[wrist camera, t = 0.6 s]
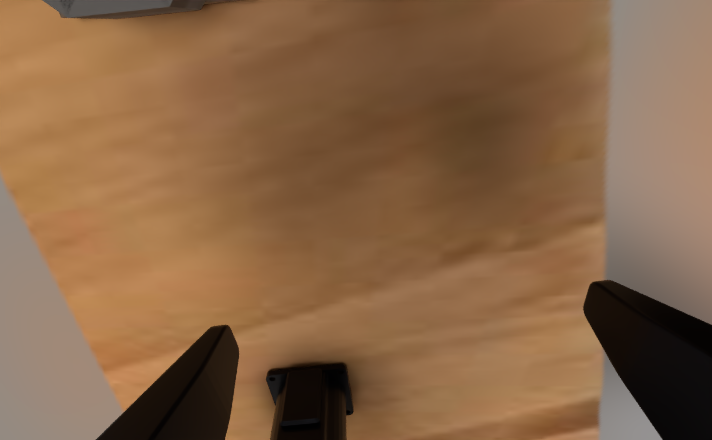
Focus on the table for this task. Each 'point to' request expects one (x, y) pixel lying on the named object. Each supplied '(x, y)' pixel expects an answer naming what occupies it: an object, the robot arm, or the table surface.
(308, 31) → the table surface
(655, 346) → the robot arm
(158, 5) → the cup bracket
